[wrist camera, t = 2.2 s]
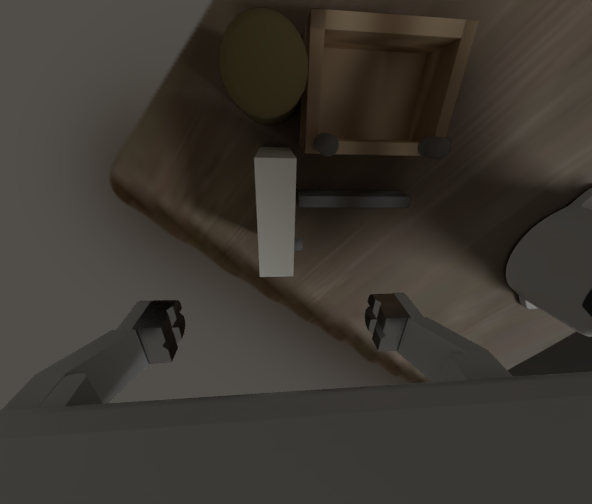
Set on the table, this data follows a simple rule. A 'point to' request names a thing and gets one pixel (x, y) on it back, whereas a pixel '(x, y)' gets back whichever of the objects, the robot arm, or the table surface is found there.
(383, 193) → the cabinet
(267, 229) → the white rectangular block
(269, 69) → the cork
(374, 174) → the table surface
